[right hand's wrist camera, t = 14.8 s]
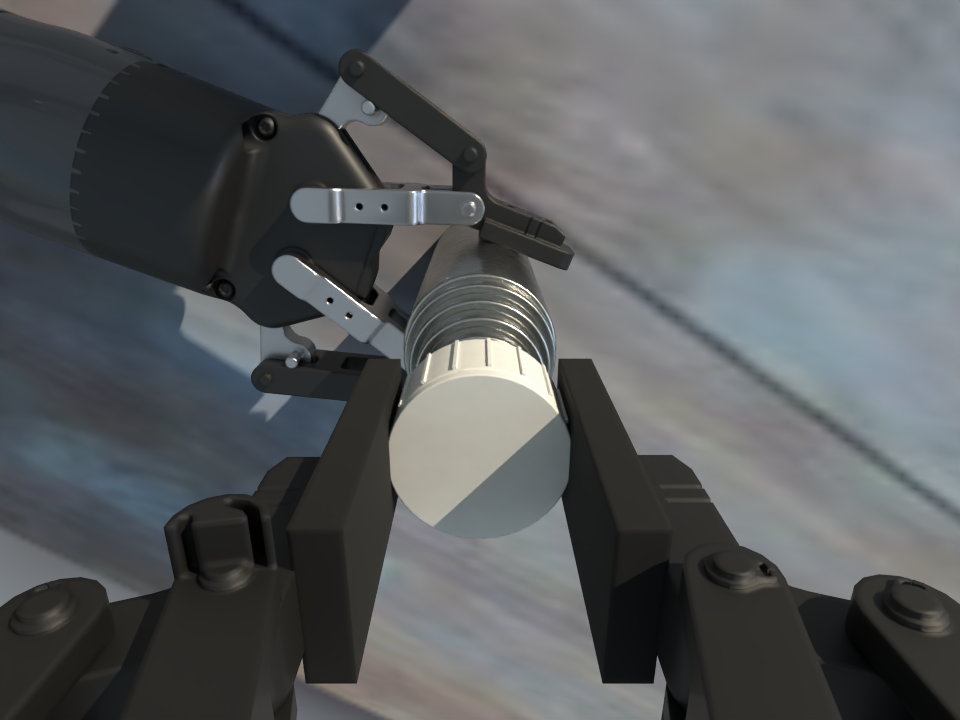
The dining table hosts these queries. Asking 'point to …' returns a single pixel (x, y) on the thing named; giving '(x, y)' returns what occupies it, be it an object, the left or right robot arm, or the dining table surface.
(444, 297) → the bottle
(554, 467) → the cap
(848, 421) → the dining table surface
